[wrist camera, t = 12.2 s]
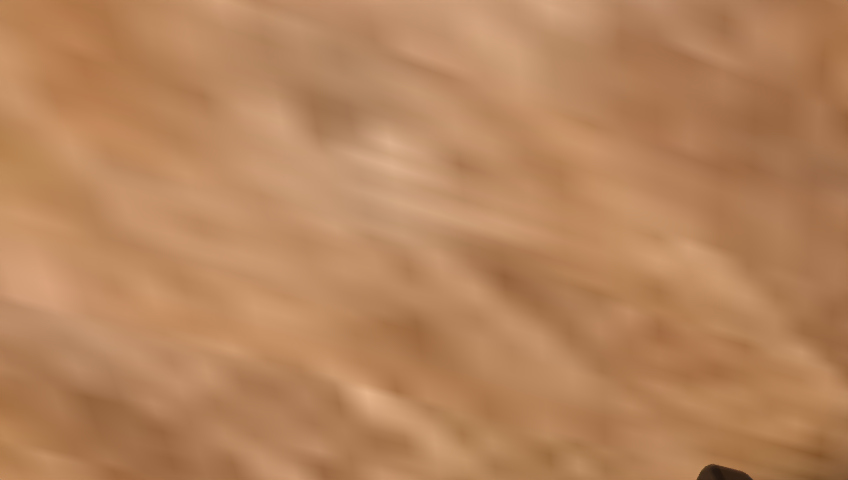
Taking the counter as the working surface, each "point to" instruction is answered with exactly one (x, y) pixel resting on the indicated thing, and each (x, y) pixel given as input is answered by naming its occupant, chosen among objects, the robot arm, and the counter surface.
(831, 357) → the counter surface
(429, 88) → the counter surface
